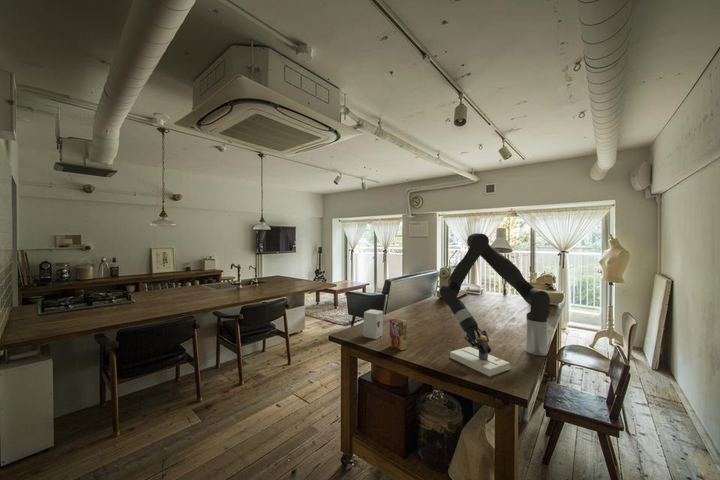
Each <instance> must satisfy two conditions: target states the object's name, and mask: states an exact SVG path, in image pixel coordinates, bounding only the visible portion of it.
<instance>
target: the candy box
mask: <svg viewBox="0 0 720 480" xmlns="http://www.w3.org/2000/svg"><path fill="white" fill-rule="evenodd" d="M407 328H408V321H407V320H406V319H400V318H397V317H391V318H389V345H388V346H389V347H390V346H391V347H390V348H393V347H394V348H393V349H396V348H397V349H396V350H399V349H400V351H404V349H405V350H407V349H406V348H407V343H408V342H407V338H408V333H407V332H408V329H407Z"/></svg>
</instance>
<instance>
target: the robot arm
mask: <svg viewBox="0 0 720 480" xmlns="http://www.w3.org/2000/svg"><path fill="white" fill-rule="evenodd" d="M466 243H467V246H468V250H467V251H466V254H465V255H464V256H463V258H462V259H461V260H460V261H459V262H458V263H457V265H456V266H455V267H454V269H453V271H451V274H450V276H449V278H448V280H449V284H448V285H443V286H441V287H440V288H439V296H440V297H441V298H442V300H443V301H444V303H445V304H446V305H447V306H448V308H450V310H451V312H452V314H453V315H454V317H455V319H456V321H457V322H458V324H459V325H460V327H461V329H462V331H463V332H465V333H466V335H464V336H463V338H464V339H465V340H466V341H467V342H468V343H469V344H470V345H471V347H472V348H477V350H479V351H480V353H481V354H482V355H484V354H486V351H485V350H484V348H483V347H482V345H481V343H480V342H479V339H480V336H487V339H488V343H489V342H490V340H489V337H488V334H487V331H486V330H481V329H480V328H479V326H478V325H479V324H478V323H477V321H476V319H475V318H474V316H473V315H472V313H471V312H470V311H469V310H468V308H467V307H466V305H465V303H464V302H463V301H462V300H461V299H459V298H458V295H459V293H460V290H461V287H462V284H463V283H464V281H465V280H466V278H467V275H468V274H469V272H470V271H471V269H472V268H473V266H474V264H475V263H476V262H477V260H478V259H479V258H480V257H481V258H482V259H483V260H484V261H486V263H487V264H488V265H489V266H490V268H492V270H493V271H494V272H496V274H497V275H499V276H500V277H501V278H502V279H503V280H504V281H505V282H506V283H507V284H508V285H510V286H511V287H512V288H513V289H514V290H516V292H517V293H518V294H519V295H520V296H521V297H522V298H523V300H524V301H525V302H526V303H527V304H529V305H530V309H529V310H530V311H529V312H527V313H526V338H525V339H526V343H525V349H526V352H527V353H528V354H530V355H534V356H537V357H539V356H540V357H546V356H547V355H548V318H549V315H550V310H551V309H550V307H551V299H550V296H549V293H548V292H547V291H545V290H543V289H539V288H536V287H535V286H533V285H532V284H531V283H530V282H529V281H528V280H526V279H525V277H524V276H523V273H522V272H521V271H520V269H519V267H517V266H516V264H514V263H513V261H511V260H510V258H508V257H506V256H505V255H503V254H502V253H500V252H498V251H497V250H495V249H494V248H493V247H492V246H491V245H490V244H489V243H490V239H489V237H488V235H486V234H484V233H482V232H477V233H471V234H470V235H469V236H468V237H467V239H466ZM490 353H492V348H491V347H490V345H488V354H490Z"/></svg>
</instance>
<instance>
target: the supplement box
mask: <svg viewBox="0 0 720 480" xmlns="http://www.w3.org/2000/svg"><path fill="white" fill-rule="evenodd" d="M383 333H384V311H383V310H378V309H371V308H370V309H368V310H366V311H364V312H363V337H364V338H368V339H373V340H377V339H379V338H380V336H381V337H382V336H383V335H384V334H383Z"/></svg>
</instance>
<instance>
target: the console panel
mask: <svg viewBox="0 0 720 480" xmlns="http://www.w3.org/2000/svg"><path fill="white" fill-rule="evenodd" d="M449 354H450V355H449V356H450V357H449V358H450V359H453V360H454V361H457V362H458V363H461V364H463V365H464V366H466V367H469V368H471V369H473V370H475V371H477V372H479V373H481V374H483V375H486V376H488V377H493V376H495V375H497V374H501V373H503V372H506V371H509V370H510V368H511V367H510V362H509V361H507V360H504V359H501V358H499V357H497V356H494V355H491V354H490V353H488V359H485V360H482V359H480V358H479V349H478V348H477V349H476V348H475V347H473V346H466V347H462V348H459V349H455V350H451V351H450V353H449Z"/></svg>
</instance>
